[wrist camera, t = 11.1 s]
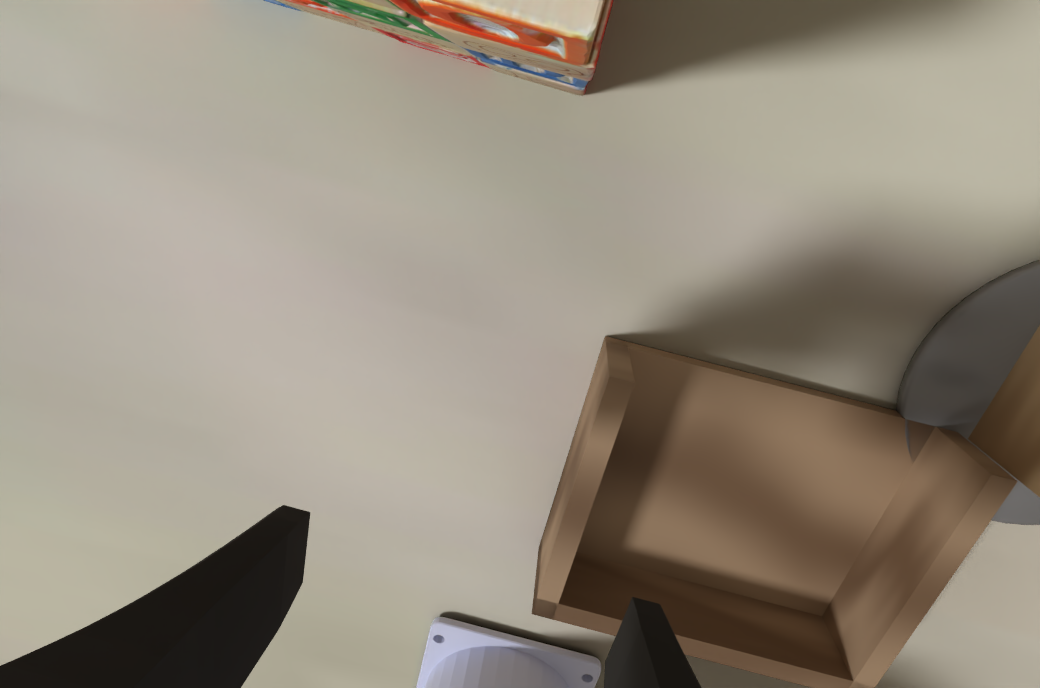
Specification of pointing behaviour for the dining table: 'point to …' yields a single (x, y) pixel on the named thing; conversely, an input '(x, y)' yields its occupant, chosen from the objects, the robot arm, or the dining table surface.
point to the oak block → (1015, 420)
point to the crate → (758, 517)
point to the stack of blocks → (488, 32)
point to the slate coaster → (975, 367)
